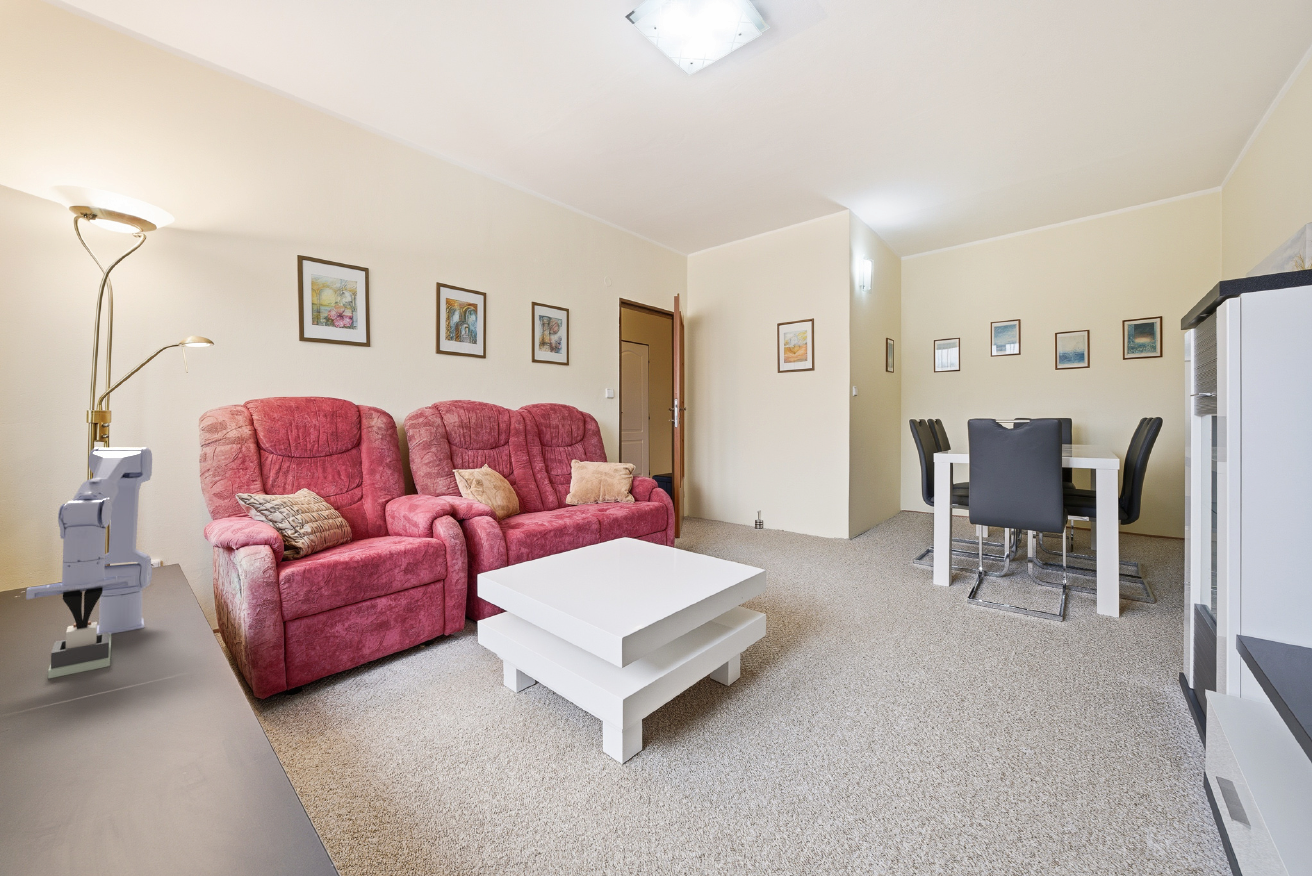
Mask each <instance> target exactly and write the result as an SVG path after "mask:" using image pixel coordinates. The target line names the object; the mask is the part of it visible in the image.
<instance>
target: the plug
mask: <svg viewBox="0 0 1312 876" xmlns="http://www.w3.org/2000/svg"><path fill="white" fill-rule="evenodd" d="M97 625H98V622H97V621H94V622H92V620H88V626H87V628H82V629H77V627H76V622H74V623H73V624H72V625H69V626H67V628H66V630H65V631H66V632H65V640H66V649H69V648H75V647H80V646H86V645H91V644H97Z"/></svg>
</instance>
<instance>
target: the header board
mask: <svg viewBox="0 0 1312 876" xmlns="http://www.w3.org/2000/svg"><path fill="white" fill-rule="evenodd" d="M111 646H112V634H109V632H106V633H100V634H97V644H91V645H86V646H80V647H75V648H69V649H66V639H63V640H57V641H54V644H53V646H52V649H51V654H50V663H49V668H48V669H47V670H48V671H47V678H48V680H49V679H53V678H58V677H62V676H67V675H71V674H78V673H81V672H83V673H84V672H86V671H87V672H88V671H93V670H96V669H102V668H106V667H110V666H111V650H112V649H111V648H112V647H111Z"/></svg>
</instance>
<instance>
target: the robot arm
mask: <svg viewBox="0 0 1312 876" xmlns="http://www.w3.org/2000/svg"><path fill="white" fill-rule="evenodd" d="M88 467H89V470H90V471H91V473H92V474H93V475H92V478H89V479H87V480H85V481H84V482H83V483H82V484H80V487H79V488H78V490H77V492H76V493H75V495H74V496H73V498H72V500H69V501H67V502H66V503H62V504H61V505H60V507H59V509H58V514H57V521H58V527H59V532H60V533H59V536H60V539H61V540H62V539H63V540H62V541H63V542H62V543H63V545H62V546H63V547H62V548H63V549H62V574H61V575H62V576H61V577H62V578H61V581H62V582H58V583H51V584H44V585H37V586H29V587H27V588H26V591H25V592H26V593H25V594H26V596H25V599H26V600H31V599H36V598H43V597H51V596H57V595H62V601H63V602H64V603H65V604H66V606H67V608H68V609H69V610H70V612H71V614H72V616H73V619H74V623H76V627H77V629H82V628H87V626H88V621H90V618H91V616H92V615H91V614H92V612H93V610H94V608H95V606H96V604H97V603H98V601H99V607H98V610H99V611H98V624H97V634H100V633H106V632H109V634H111V635H113V634H117V633H118V634H119V633H124V632H129V631H136V630H139V629H140V630H141V629H144V628H145V622H144V621H145V620H144V617H143V589H145V588H147V587H148V586H149V585H150V584H151V582H152V577H153V566H152V559H151V556H150V555H149V554H146V553H145V552H143V551H141V550H139V549H137V539H138V536H137V535H138V517H139V515H138V514H139V497H140V496H139V495H140V489H141V486H142V483H145V482H148V481H150V480H151V477H152V473H153V472H152V471H153V453H152V450H151V449H150V448H149V447H145V446H144V447H99V446H98V447H97V446H95V447H94V448H93V449H91V450H90V452H89V455H88ZM108 526H109V528H110V529H109V544H108V552H107V553H106V534H107V533H106V529H107V527H108ZM113 564H114V565H113ZM83 592H84V594H83ZM82 604H83V605H82ZM82 607H83V608H82ZM82 609H83V610H82Z"/></svg>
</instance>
